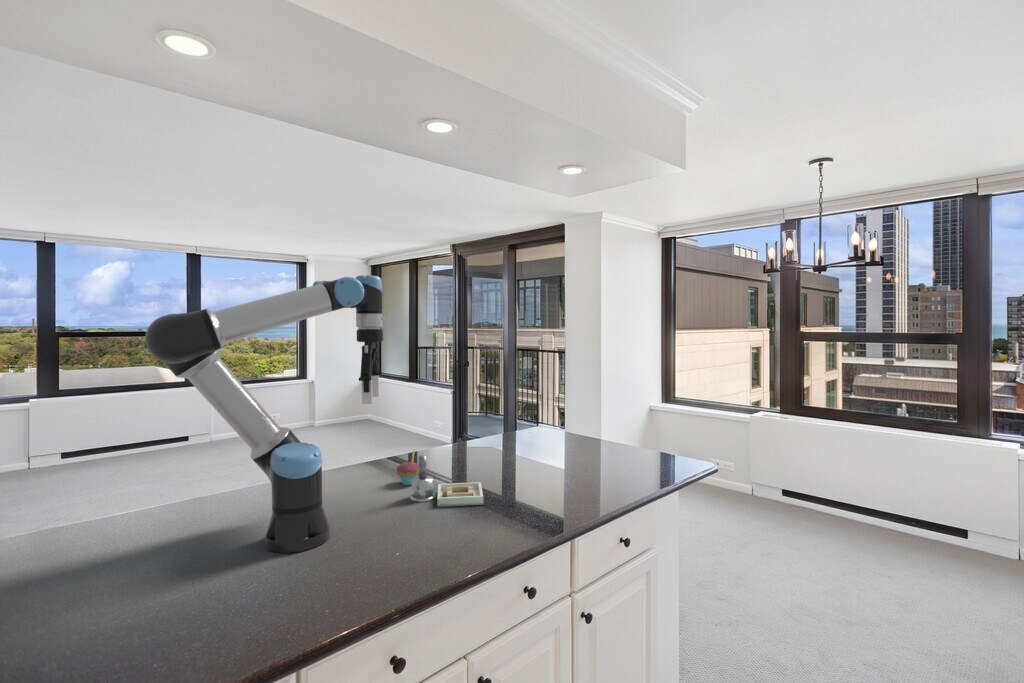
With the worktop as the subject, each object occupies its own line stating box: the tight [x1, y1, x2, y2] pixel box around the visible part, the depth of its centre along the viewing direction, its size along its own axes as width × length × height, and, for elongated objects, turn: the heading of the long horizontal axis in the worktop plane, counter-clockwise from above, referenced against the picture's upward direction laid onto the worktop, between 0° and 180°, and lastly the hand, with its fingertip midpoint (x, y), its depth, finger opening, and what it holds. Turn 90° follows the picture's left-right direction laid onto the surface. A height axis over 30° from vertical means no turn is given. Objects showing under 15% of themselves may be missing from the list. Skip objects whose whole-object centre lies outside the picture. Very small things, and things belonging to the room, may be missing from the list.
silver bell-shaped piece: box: [409, 454, 437, 503], centre depth 157 cm, size 8×8×13 cm
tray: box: [436, 481, 484, 508], centre depth 157 cm, size 14×14×2 cm
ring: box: [442, 485, 474, 497], centre depth 157 cm, size 8×10×2 cm
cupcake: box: [395, 448, 419, 486], centre depth 172 cm, size 9×8×12 cm
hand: (371, 400), depth 150 cm, fingers open, 13 cm apart
